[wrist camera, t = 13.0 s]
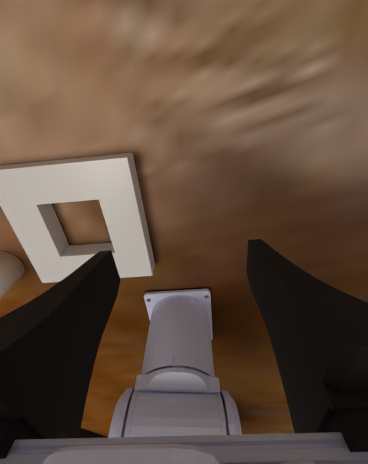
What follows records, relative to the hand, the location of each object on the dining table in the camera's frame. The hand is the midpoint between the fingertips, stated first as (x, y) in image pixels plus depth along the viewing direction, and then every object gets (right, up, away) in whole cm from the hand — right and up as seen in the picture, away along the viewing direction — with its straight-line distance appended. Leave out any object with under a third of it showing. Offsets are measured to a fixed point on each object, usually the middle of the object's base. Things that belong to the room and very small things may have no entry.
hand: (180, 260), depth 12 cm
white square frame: (-10, +3, +11) cm, 15 cm away
